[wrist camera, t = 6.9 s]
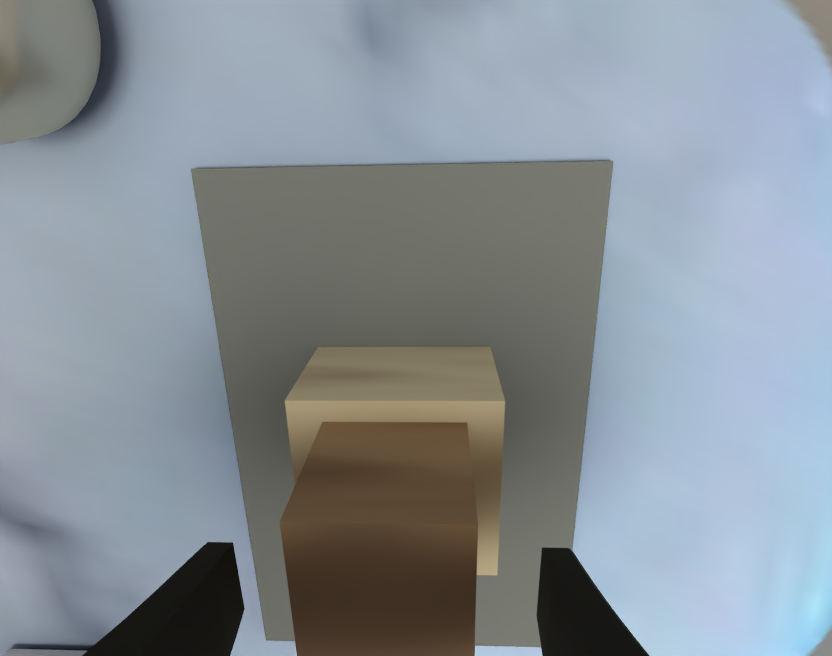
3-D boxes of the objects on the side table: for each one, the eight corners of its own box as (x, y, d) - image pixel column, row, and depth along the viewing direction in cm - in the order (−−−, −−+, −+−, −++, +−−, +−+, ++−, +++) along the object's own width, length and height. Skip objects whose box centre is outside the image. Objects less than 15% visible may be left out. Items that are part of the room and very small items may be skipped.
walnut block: (464, 539, 15) (474, 669, 11) (333, 537, 15) (298, 664, 11) (467, 422, 14) (477, 525, 10) (322, 421, 14) (279, 522, 10)
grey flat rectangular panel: (560, 641, 22) (561, 647, 22) (268, 633, 23) (266, 640, 22) (609, 160, 15) (613, 161, 15) (195, 168, 16) (191, 168, 16)
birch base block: (485, 492, 19) (497, 575, 15) (330, 490, 19) (305, 571, 16) (490, 346, 17) (504, 401, 13) (317, 347, 18) (284, 400, 14)
